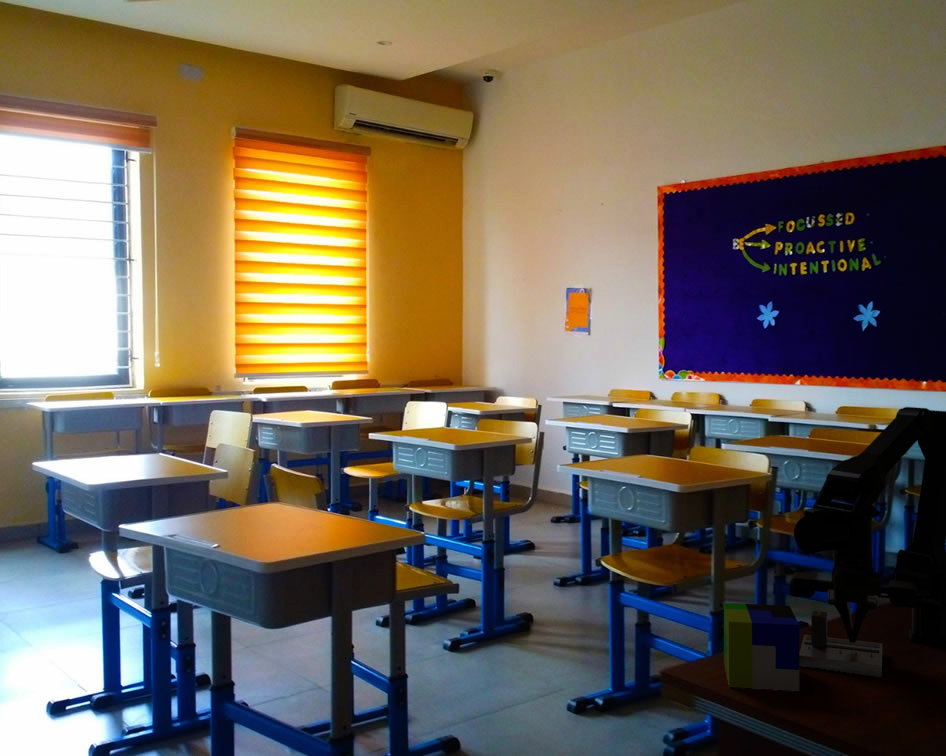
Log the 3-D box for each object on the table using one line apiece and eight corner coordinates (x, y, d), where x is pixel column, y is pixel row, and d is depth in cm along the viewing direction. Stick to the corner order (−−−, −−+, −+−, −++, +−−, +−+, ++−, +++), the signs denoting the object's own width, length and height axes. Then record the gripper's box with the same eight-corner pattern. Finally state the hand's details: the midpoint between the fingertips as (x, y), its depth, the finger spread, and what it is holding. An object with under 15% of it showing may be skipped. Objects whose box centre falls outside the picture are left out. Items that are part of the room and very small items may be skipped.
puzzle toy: (799, 692, 132) (799, 625, 132) (728, 687, 134) (728, 621, 134) (789, 668, 142) (789, 605, 142) (724, 664, 144) (723, 602, 144)
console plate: (804, 645, 153) (804, 634, 153) (882, 654, 148) (882, 642, 148) (798, 666, 143) (798, 654, 143) (881, 677, 138) (881, 664, 138)
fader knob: (812, 639, 149) (812, 609, 149) (827, 640, 148) (827, 610, 148) (811, 645, 146) (811, 614, 146) (825, 646, 145) (825, 616, 145)
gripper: (785, 552, 141) (786, 650, 142) (918, 562, 133) (918, 666, 134) (793, 537, 151) (793, 629, 152) (916, 546, 144) (916, 643, 144)
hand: (852, 641), depth 145 cm, fingers closed
